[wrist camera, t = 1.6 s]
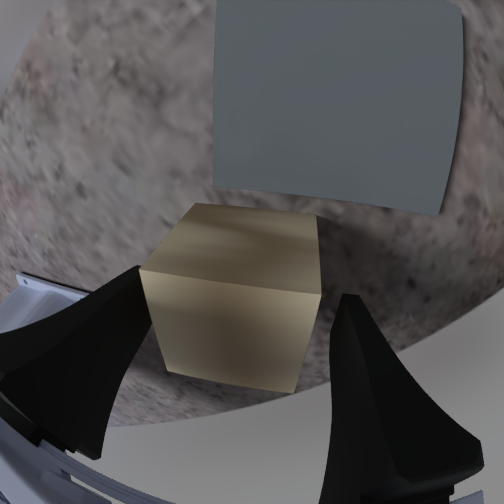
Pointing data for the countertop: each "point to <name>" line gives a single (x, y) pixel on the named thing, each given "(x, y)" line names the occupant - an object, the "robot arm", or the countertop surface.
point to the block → (236, 295)
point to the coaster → (338, 99)
